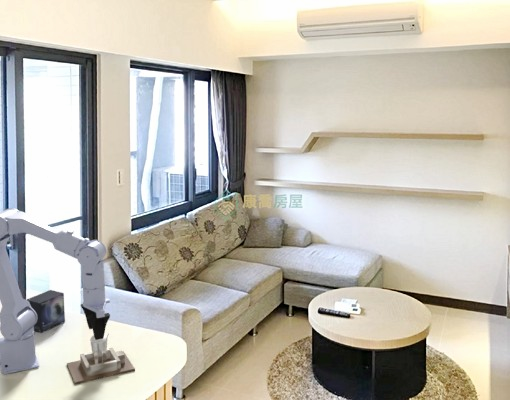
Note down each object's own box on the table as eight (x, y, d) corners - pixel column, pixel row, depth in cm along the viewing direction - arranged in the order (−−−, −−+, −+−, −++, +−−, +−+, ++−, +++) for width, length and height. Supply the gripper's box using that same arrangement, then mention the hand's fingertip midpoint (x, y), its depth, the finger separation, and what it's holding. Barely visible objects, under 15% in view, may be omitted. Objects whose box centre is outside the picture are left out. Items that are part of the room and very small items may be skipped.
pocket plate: (75, 384, 144) (74, 373, 143) (66, 365, 154) (66, 354, 153) (134, 370, 151) (134, 360, 150) (123, 353, 161) (122, 343, 161)
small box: (42, 334, 174) (39, 302, 172) (27, 330, 177) (24, 299, 175) (66, 322, 184) (64, 292, 182) (51, 318, 186) (49, 289, 184)
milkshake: (105, 371, 149) (104, 337, 147) (88, 368, 151) (86, 334, 149) (114, 363, 154) (112, 330, 152) (97, 361, 155) (95, 327, 153)
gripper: (115, 292, 143) (117, 340, 146) (102, 276, 156) (104, 321, 158) (87, 296, 140) (90, 346, 143) (76, 280, 153) (79, 325, 155)
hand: (96, 333), depth 150 cm, fingers open, 7 cm apart
